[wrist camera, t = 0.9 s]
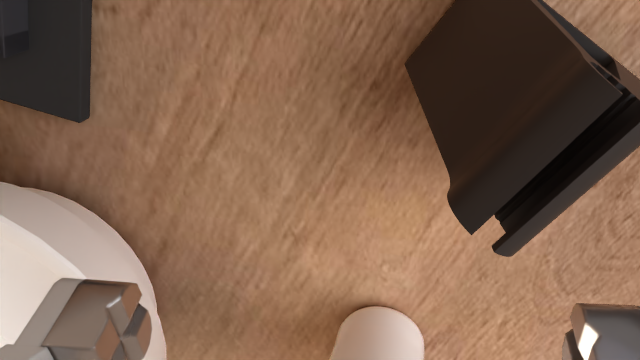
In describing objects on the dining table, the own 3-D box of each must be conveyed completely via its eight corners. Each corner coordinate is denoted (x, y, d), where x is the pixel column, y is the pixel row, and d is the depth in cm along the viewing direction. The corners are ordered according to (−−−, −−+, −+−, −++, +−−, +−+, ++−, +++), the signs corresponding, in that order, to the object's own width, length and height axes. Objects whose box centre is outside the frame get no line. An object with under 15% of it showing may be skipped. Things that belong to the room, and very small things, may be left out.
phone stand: (404, 61, 29) (369, 158, 18) (490, -44, 26) (509, -1, 15) (543, 171, 29) (588, 325, 19) (642, 81, 27) (758, 203, 16)
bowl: (222, 427, 43) (173, 536, 36) (-40, 374, 47) (-132, 461, 40) (201, 148, 33) (127, 219, 26) (-128, 111, 37) (-272, 164, 30)
